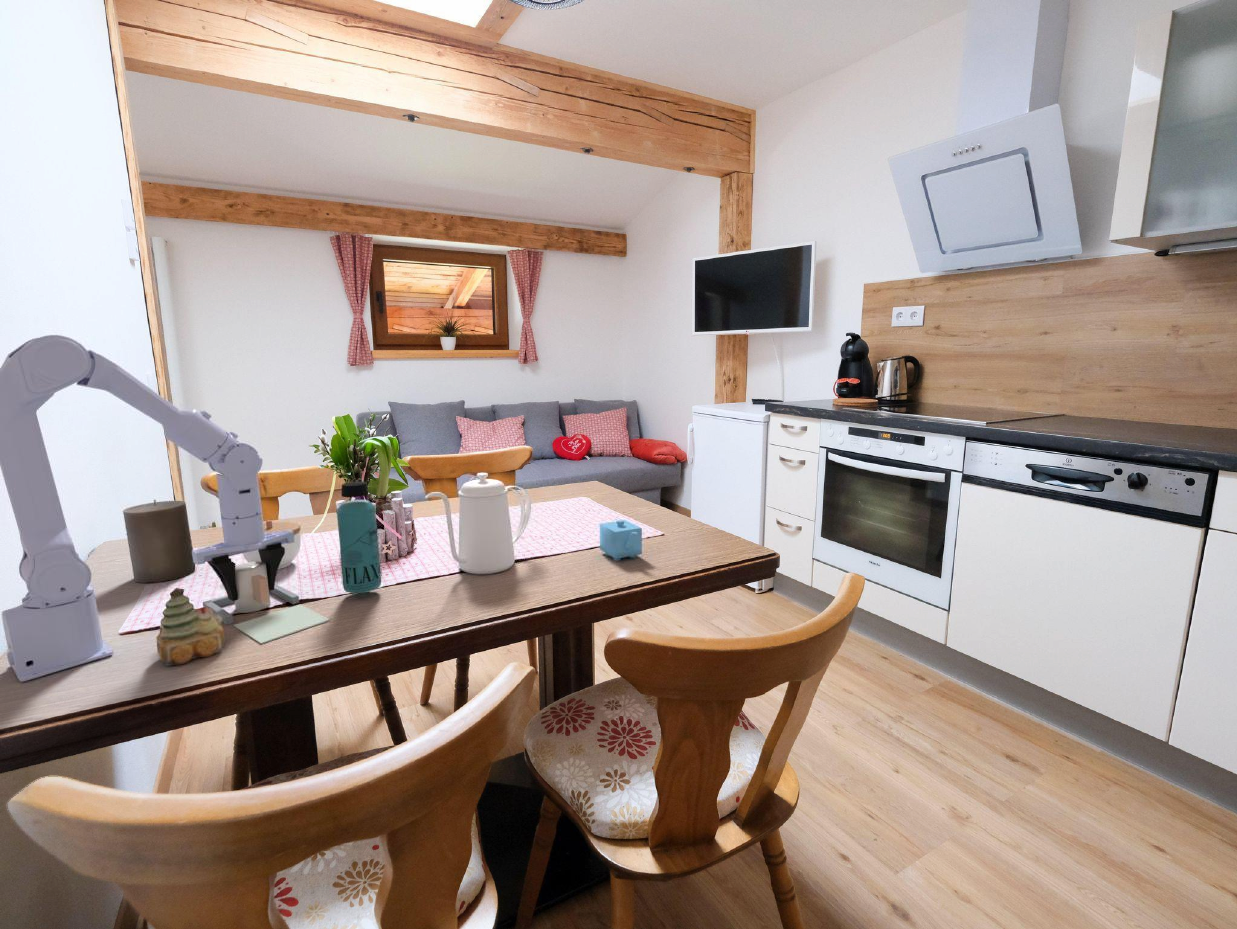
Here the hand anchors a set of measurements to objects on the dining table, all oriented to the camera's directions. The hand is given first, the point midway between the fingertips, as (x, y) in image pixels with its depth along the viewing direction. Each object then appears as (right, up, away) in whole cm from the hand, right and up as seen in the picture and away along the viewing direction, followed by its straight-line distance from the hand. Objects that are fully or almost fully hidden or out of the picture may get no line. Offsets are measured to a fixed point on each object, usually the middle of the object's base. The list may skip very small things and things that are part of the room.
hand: (251, 593), depth 101 cm
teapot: (+62, +2, +23) cm, 66 cm away
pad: (+9, -3, -6) cm, 11 cm away
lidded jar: (-8, +1, +21) cm, 22 cm away
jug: (+1, -2, 0) cm, 3 cm away
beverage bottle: (+17, -1, +5) cm, 17 cm away
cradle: (0, -2, 0) cm, 2 cm away
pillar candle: (-27, 0, +16) cm, 31 cm away
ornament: (+2, -5, -16) cm, 17 cm away
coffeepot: (+35, +1, +18) cm, 39 cm away
